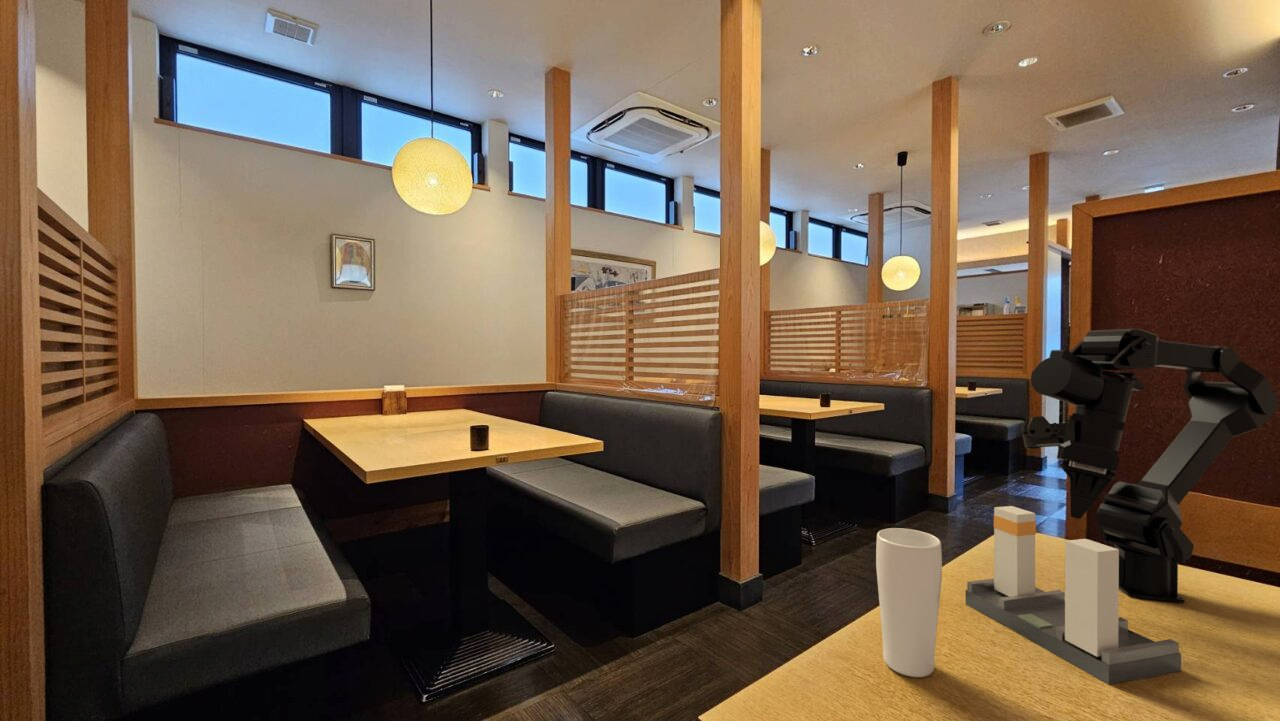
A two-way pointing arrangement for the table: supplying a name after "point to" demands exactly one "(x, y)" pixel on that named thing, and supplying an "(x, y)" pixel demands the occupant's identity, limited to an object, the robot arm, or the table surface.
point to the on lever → (1091, 595)
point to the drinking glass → (909, 598)
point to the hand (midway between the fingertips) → (1075, 518)
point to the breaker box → (1046, 627)
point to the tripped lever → (1014, 551)
